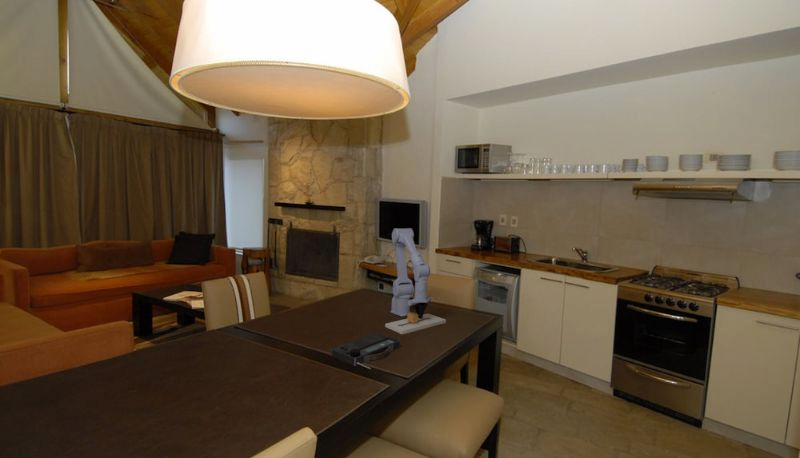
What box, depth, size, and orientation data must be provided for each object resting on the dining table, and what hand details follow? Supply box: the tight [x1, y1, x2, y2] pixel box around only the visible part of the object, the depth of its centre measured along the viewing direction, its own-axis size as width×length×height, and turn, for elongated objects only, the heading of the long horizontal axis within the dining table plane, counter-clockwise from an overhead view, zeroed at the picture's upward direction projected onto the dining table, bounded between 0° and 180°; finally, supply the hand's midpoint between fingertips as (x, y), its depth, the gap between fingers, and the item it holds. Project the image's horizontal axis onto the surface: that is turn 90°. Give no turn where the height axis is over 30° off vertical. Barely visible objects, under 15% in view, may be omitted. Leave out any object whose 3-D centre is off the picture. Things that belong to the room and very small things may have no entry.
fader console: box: [384, 313, 447, 335], centre depth 191 cm, size 12×28×2 cm, turn 130°
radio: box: [330, 332, 401, 370], centre depth 156 cm, size 25×4×20 cm
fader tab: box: [406, 311, 418, 323], centre depth 189 cm, size 4×3×4 cm
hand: (419, 318), depth 193 cm, fingers closed
